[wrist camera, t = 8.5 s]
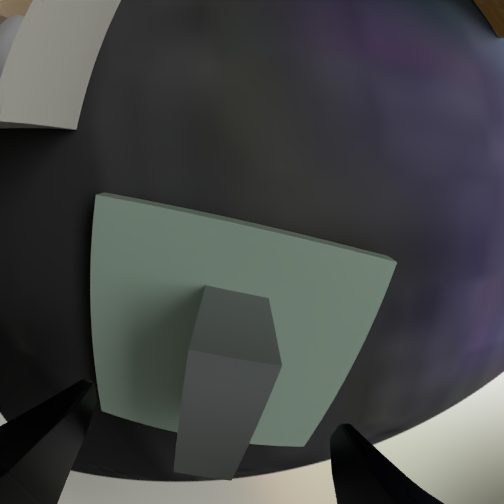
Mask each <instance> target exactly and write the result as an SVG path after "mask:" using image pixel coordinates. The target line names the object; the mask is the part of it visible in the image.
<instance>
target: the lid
mask: <svg viewBox="0 0 504 504" xmlns="http://www.w3.org/2000/svg"><path fill="white" fill-rule="evenodd" d="M396 264H397V262H396V261H394V260H393V259H392V258H390V257H389V256H385V255H382V254H378V253H374V252H370V251H366V250H363V249H359V248H355V247H351V246H347V245H343V244H339V243H335V242H331V241H327V240H323V239H319V238H315V237H311V236H307V235H302V234H298V233H294V232H290V231H286V230H281V229H277V228H273V227H269V226H264V225H260V224H255V223H251V222H247V221H242V220H238V219H233V218H229V217H224V216H220V215H215V214H210V213H206V212H201V211H196V210H191V209H187V208H182V207H177V206H172V205H167V204H162V203H157V202H152V201H147V200H142V199H137V198H132V197H126V196H121V195H116V194H110V193H101V194H97V195H96V199H95V207H94V217H93V229H92V243H91V268H90V302H91V326H92V341H93V352H94V362H95V370H96V378H97V385H98V392H99V398H100V404H101V409H102V411H104V412H106V413H109V414H112V415H115V416H118V417H121V418H125V419H128V420H131V421H135V422H138V423H142V424H145V425H149V426H153V427H156V428H160V429H165V430H169V431H173V432H178V433H177V442H176V452H175V462H174V472H178V473H184V474H189V475H195V476H201V477H207V478H215V479H223V480H232V478H233V476H234V474H235V472H236V470H237V468H238V466H239V464H240V462H241V460H242V458H243V456H244V453H245V451H246V449H247V447H248V445H249V444H259V445H274V446H304V445H305V444H306V443H307V441H308V440H309V438H310V437H311V435H312V433H313V432H314V430H315V429H316V427H317V426H318V424H319V423H320V421H321V419H322V418H323V416H324V415H325V413H326V411H327V410H328V408H329V406H330V405H331V403H332V401H333V400H334V398H335V396H336V394H337V393H338V391H339V389H340V387H341V385H342V384H343V382H344V380H345V378H346V376H347V374H348V373H349V371H350V369H351V367H352V365H353V363H354V361H355V359H356V357H357V355H358V353H359V351H360V349H361V347H362V345H363V343H364V341H365V339H366V337H367V334H368V332H369V330H370V328H371V326H372V323H373V321H374V319H375V317H376V314H377V312H378V310H379V307H380V305H381V303H382V300H383V298H384V295H385V293H386V290H387V288H388V285H389V283H390V280H391V277H392V275H393V272H394V269H395V267H396Z"/></svg>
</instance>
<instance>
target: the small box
mask: <svg viewBox="0 0 504 504" xmlns="http://www.w3.org/2000/svg"><path fill="white" fill-rule="evenodd" d="M473 1H474V2H475V4H476V5H477V6H478V8H479V9H480V10H481V12H482V13H483V14H484V16H485V17H486V19H487V20H488V22H489V23H490V24H491V26H492V28H493V30H494V31H495V33H496V34H497V36H498V37H499V38H504V0H473Z"/></svg>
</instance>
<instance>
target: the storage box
mask: <svg viewBox="0 0 504 504" xmlns="http://www.w3.org/2000/svg"><path fill="white" fill-rule="evenodd" d="M120 1H121V0H0V128H51V129H72V130H76V129H77V124H78V120H79V116H80V112H81V108H82V104H83V100H84V96H85V93H86V89H87V86H88V82H89V79H90V76H91V73H92V70H93V67H94V64H95V61H96V58H97V55H98V52H99V50H100V47H101V45H102V42H103V39H104V37H105V34H106V32H107V30H108V27H109V25H110V23H111V20H112V18H113V16H114V14H115V12H116V10H117V8H118V5H119V3H120Z"/></svg>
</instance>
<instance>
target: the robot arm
mask: <svg viewBox="0 0 504 504" xmlns="http://www.w3.org/2000/svg"><path fill="white" fill-rule="evenodd" d="M96 400H97V396H96V390H95V384H94V383H93V382H92V381H89V380H86V379H82V380H81V381H79V382H77V383H75V384H74V385H72V386H70V387H69V388H67V389H65V390H64V391H62V392H60V393H58V394H57V395H55V396H53V397H52V398H50V399H48V400H46V401H45V402H43V403H41V404H39V405H38V406H36V407H34V408H32V409H31V410H29V411H27V412H25V413H24V414H22V415H20V416H18V417H16V419H13V420H11V421H9V422H7V423H6V424H3V425H2V426H0V504H57V503H58V500H59V498H60V495H61V492H62V490H63V487H64V485H65V482H66V480H67V477H68V475H69V472H70V470H71V468H72V465H73V463H74V461H75V458H76V456H77V454H78V451H79V449H80V447H81V445H82V442H83V440H84V438H85V435H86V432H87V429H88V426H89V423H90V420H91V417H92V413H93V410H94V407H95V404H96ZM0 409H1V408H0ZM330 450H331V466H332V475H333V482H334V487H335V492H336V498H337V504H444V503H442V502H441V501H439V500H438V499H436V498H435V497H433V496H432V495H430V494H428V493H427V492H426V491H424V490H423V489H422V488H420V487H419V486H418V485H417V484H415V483H414V482H413V481H411V479H409V478H408V477H406V475H405V474H404V473H402V472H401V471H400V470H399V469H398V468H397V467H396V466H395V465H393V464H392V463H391V462H390V461H389V460H388V459H387V458H386V457H385V456H384V455H382V454H381V453H380V452H379V451H378V450H377V449H376V448H375V447H374V446H373V445H372V444H371V443H370V442H369V441H368V440H366V439H365V438H364V437H363V436H362V435H361V434H360V433H359V432H358V431H357V430H356V429H355V428H354V427H353V426H352V425H351V424H340V425H338V427H337V428H336V430H335V431H334V432H333V434H332V435H331V438H330Z"/></svg>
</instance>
